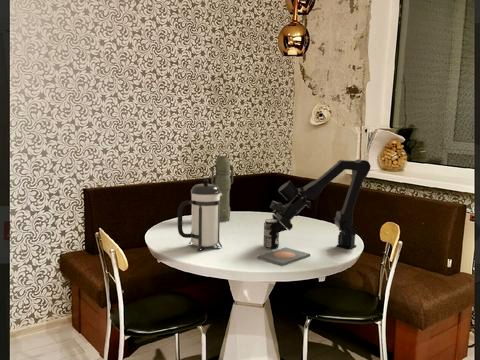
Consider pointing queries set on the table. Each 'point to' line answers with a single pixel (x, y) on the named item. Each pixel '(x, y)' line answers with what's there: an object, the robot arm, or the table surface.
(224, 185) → the thermos
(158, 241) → the table surface
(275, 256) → the placemat
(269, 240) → the beverage can
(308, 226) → the table surface
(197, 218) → the coffee press
